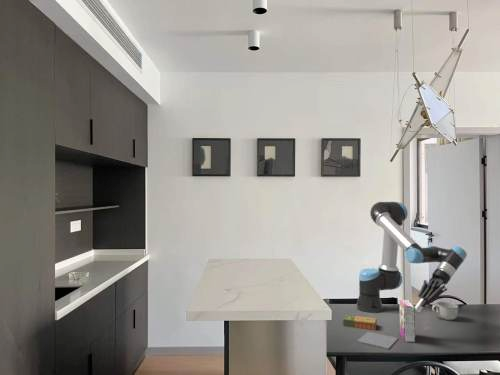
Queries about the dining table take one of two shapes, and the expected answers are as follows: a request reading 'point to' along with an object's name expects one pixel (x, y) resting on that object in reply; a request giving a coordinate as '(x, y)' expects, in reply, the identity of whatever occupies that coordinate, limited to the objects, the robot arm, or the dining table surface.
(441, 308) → the teacup
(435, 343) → the dining table surface
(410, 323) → the candy bar box
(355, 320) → the carton
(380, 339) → the mat
